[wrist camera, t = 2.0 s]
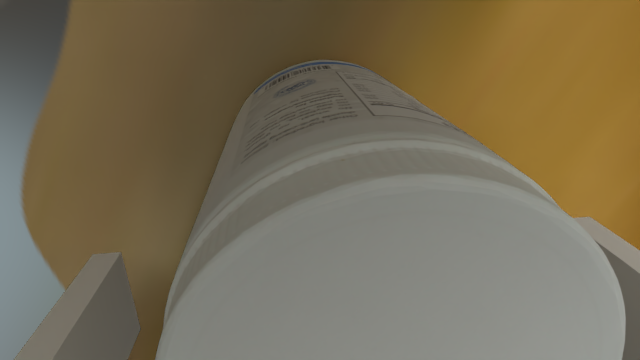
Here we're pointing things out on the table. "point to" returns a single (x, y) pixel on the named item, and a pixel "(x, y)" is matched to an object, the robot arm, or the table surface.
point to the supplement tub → (380, 240)
